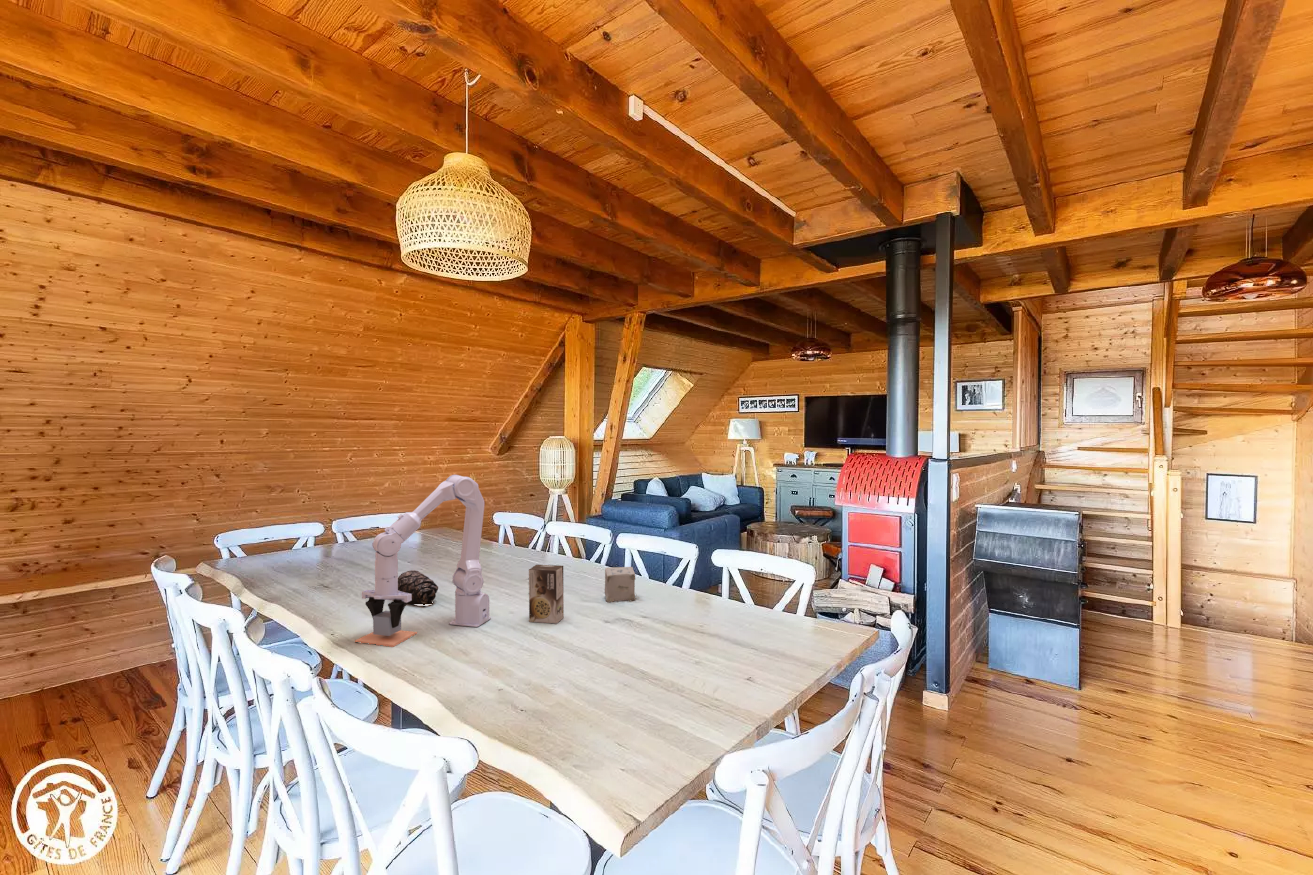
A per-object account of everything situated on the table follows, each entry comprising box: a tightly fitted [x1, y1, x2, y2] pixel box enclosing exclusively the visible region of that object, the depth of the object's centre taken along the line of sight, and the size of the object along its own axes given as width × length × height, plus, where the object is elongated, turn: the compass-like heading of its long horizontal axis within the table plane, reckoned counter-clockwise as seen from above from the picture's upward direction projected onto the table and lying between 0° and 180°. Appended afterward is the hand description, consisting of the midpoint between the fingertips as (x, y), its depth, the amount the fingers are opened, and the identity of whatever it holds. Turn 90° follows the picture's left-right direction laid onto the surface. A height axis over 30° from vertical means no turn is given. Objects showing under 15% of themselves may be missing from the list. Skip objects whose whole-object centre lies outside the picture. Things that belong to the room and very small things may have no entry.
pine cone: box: [398, 569, 439, 605], centre depth 196 cm, size 10×18×10 cm, turn 61°
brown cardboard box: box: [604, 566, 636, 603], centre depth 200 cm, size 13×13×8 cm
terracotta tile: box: [354, 629, 418, 648], centre depth 162 cm, size 12×10×1 cm
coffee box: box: [528, 564, 565, 624], centre depth 178 cm, size 9×6×16 cm
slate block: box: [372, 610, 402, 636], centre depth 162 cm, size 5×5×5 cm
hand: (386, 625), depth 162 cm, fingers closed on slate block, 5 cm apart
